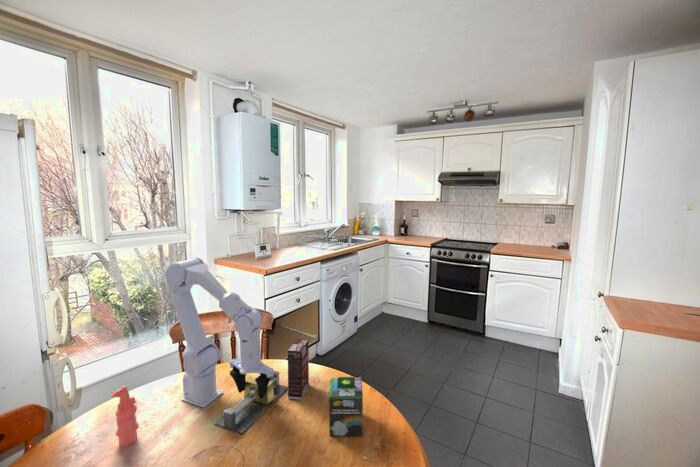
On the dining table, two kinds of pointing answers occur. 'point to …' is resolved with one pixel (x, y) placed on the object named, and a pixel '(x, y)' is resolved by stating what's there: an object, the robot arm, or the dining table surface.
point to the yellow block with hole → (252, 384)
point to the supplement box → (298, 369)
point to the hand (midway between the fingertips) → (252, 393)
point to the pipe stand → (249, 408)
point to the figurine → (126, 418)
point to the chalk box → (346, 406)
